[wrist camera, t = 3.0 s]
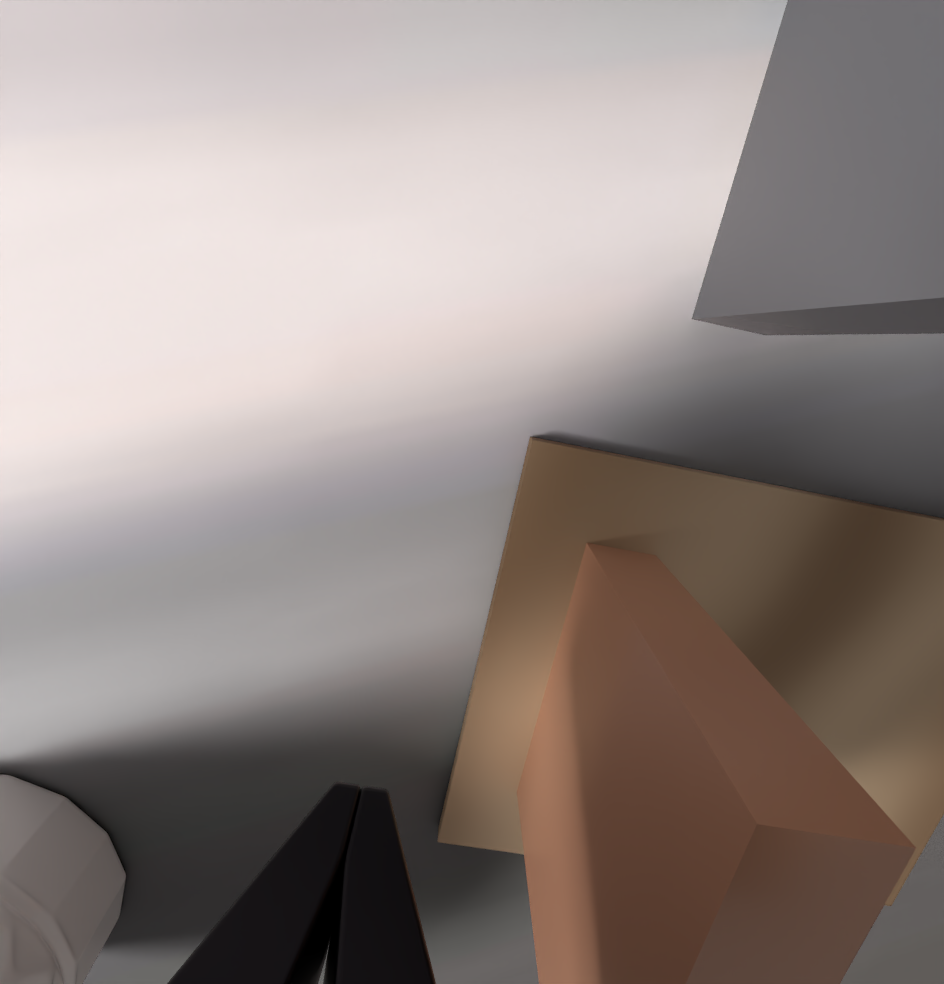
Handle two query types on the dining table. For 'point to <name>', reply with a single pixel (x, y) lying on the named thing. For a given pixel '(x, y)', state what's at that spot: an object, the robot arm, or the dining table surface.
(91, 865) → the white cup
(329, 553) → the dining table surface
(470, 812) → the cork mat
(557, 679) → the terracotta tile
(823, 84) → the gray box
